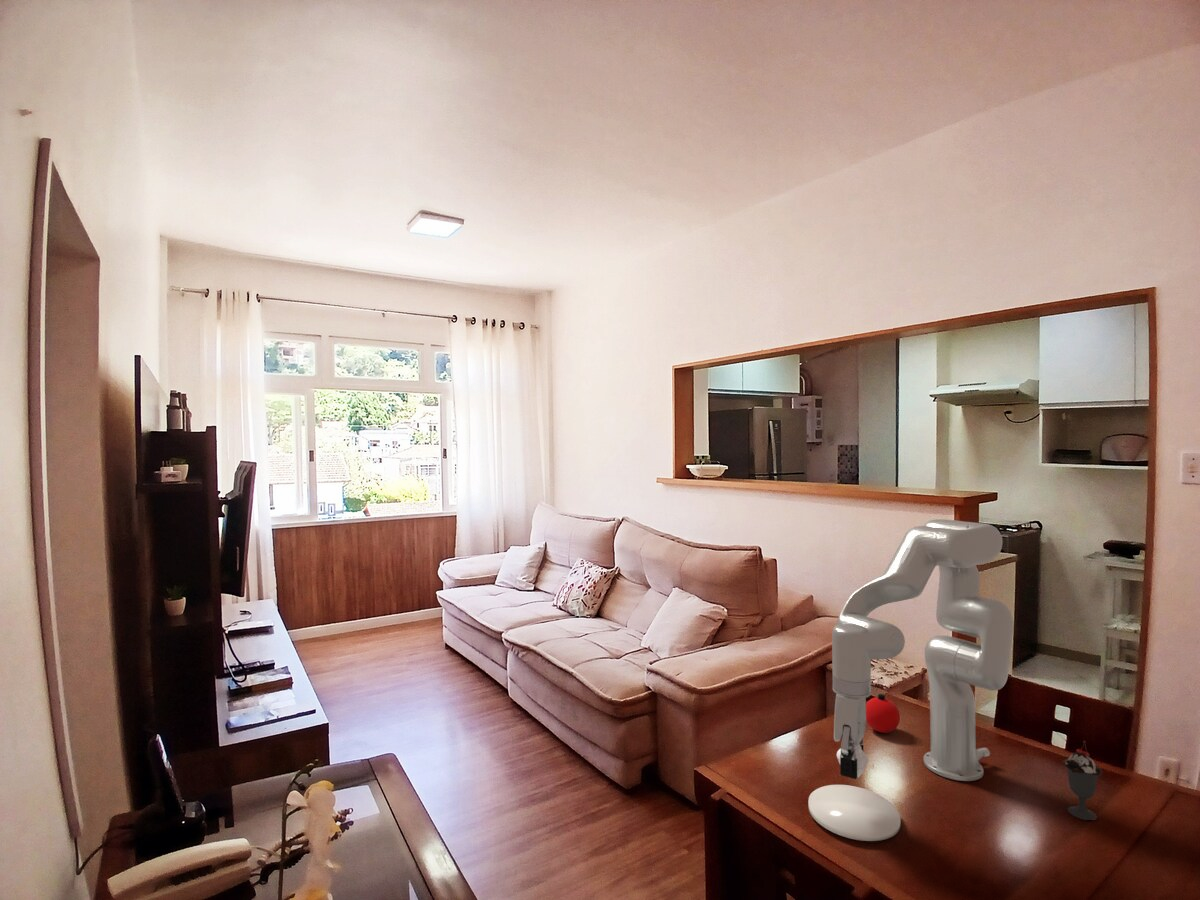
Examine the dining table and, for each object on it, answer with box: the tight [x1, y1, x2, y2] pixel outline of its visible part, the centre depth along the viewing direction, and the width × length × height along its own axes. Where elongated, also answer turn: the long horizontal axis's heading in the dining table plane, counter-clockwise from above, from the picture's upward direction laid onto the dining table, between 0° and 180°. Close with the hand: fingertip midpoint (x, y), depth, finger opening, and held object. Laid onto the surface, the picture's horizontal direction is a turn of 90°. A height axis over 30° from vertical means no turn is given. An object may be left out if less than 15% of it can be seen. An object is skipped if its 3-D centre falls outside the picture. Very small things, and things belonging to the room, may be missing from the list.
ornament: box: [866, 693, 901, 734], centre depth 168 cm, size 9×9×10 cm
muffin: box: [836, 740, 869, 778], centre depth 130 cm, size 6×6×7 cm
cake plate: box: [807, 784, 901, 842], centre depth 130 cm, size 18×18×2 cm
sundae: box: [1062, 740, 1103, 821], centre depth 130 cm, size 7×7×15 cm
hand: (852, 768), depth 130 cm, fingers closed on muffin, 6 cm apart
